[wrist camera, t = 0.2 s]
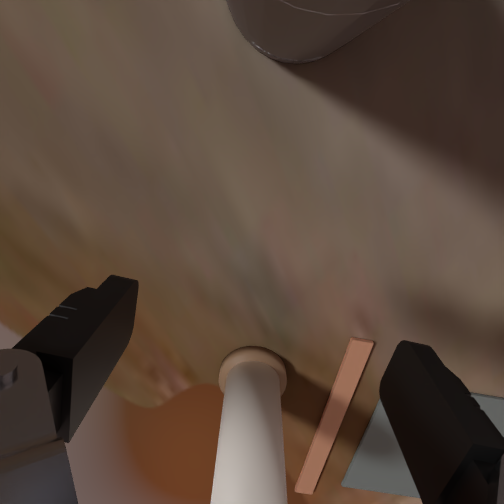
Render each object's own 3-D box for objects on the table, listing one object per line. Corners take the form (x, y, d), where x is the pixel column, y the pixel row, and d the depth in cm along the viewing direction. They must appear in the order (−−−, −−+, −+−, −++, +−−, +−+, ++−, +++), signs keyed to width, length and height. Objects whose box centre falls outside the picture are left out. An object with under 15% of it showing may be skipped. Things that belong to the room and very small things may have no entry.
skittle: (225, 340, 32) (193, 553, 17) (292, 352, 33) (320, 570, 17) (215, 391, 35) (180, 616, 20) (278, 401, 35) (290, 630, 20)
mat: (389, 378, 33) (390, 381, 33) (525, 401, 34) (527, 404, 34) (341, 483, 40) (341, 486, 40) (457, 501, 41) (458, 503, 40)
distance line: (351, 337, 32) (352, 339, 31) (372, 340, 32) (373, 343, 31) (294, 488, 40) (295, 491, 40) (311, 490, 40) (312, 494, 40)
